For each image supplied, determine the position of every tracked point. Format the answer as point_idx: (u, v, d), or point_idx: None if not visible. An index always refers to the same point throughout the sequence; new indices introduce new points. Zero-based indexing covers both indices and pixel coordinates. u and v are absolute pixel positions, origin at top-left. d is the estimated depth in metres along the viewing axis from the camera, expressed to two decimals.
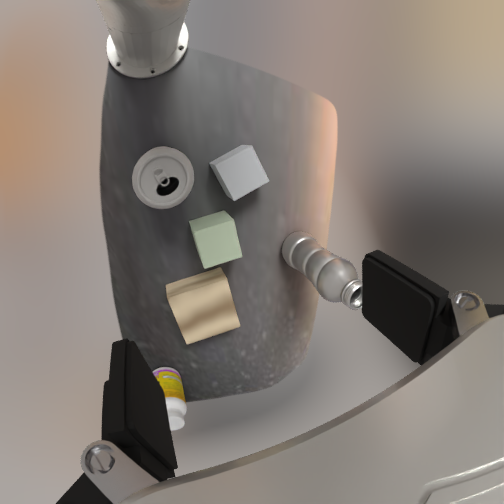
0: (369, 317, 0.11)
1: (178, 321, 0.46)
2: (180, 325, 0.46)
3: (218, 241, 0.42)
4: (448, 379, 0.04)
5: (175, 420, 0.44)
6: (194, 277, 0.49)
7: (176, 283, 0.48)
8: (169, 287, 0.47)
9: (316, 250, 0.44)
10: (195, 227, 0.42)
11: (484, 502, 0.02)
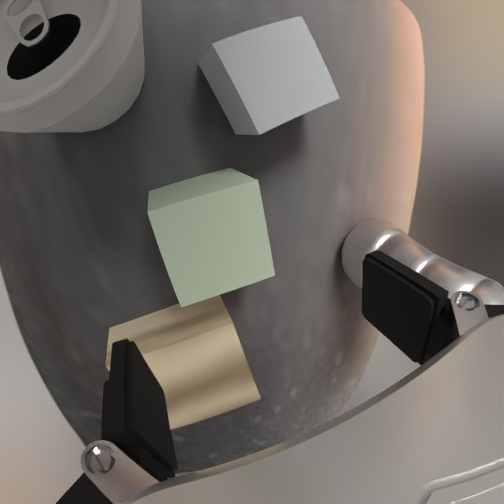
0: (369, 317, 0.11)
1: None
2: None
3: (216, 238, 0.16)
4: (448, 379, 0.04)
5: None
6: (163, 313, 0.22)
7: (128, 327, 0.22)
8: (114, 335, 0.21)
9: (429, 259, 0.18)
10: (157, 200, 0.16)
11: (484, 502, 0.02)
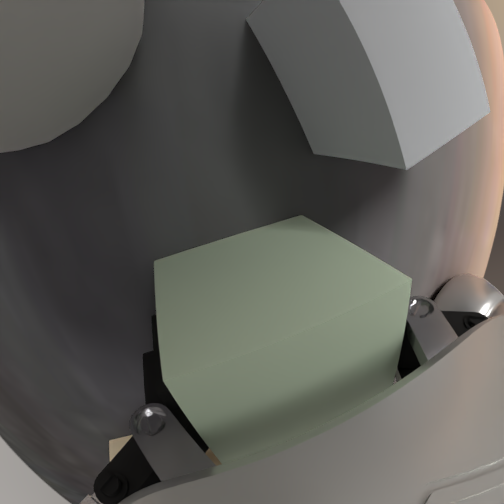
0: None
1: None
2: None
3: (315, 397, 0.07)
4: (448, 379, 0.04)
5: None
6: None
7: None
8: None
9: None
10: (180, 318, 0.07)
11: (484, 502, 0.02)
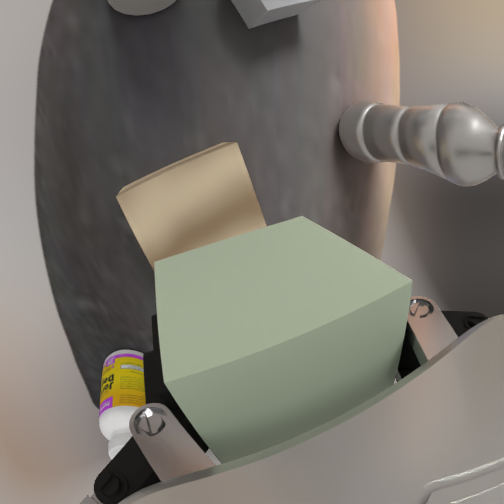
0: None
1: (146, 249, 0.22)
2: (151, 258, 0.22)
3: (316, 398, 0.07)
4: (449, 379, 0.04)
5: None
6: (174, 163, 0.24)
7: (141, 179, 0.23)
8: (126, 186, 0.23)
9: (410, 106, 0.20)
10: (180, 320, 0.07)
11: (484, 502, 0.02)
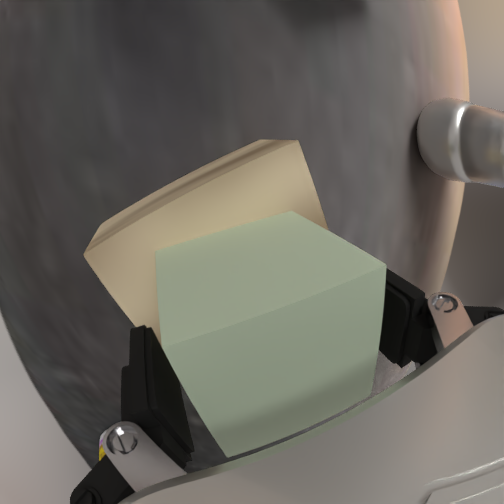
0: None
1: None
2: None
3: (299, 372, 0.08)
4: (448, 379, 0.04)
5: None
6: (183, 178, 0.14)
7: (128, 209, 0.14)
8: (106, 224, 0.13)
9: None
10: (178, 297, 0.08)
11: (484, 502, 0.02)
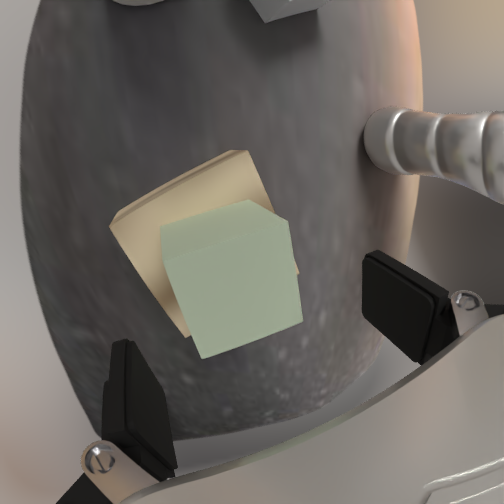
0: (369, 317, 0.11)
1: (150, 284, 0.19)
2: (158, 293, 0.19)
3: (241, 287, 0.14)
4: (448, 379, 0.04)
5: None
6: (175, 178, 0.21)
7: (138, 200, 0.20)
8: (122, 210, 0.20)
9: (446, 114, 0.16)
10: (172, 243, 0.14)
11: (484, 502, 0.02)
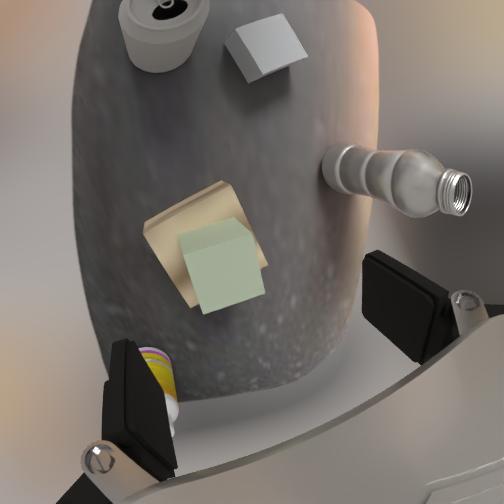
0: (369, 317, 0.11)
1: (168, 270, 0.29)
2: (173, 277, 0.30)
3: (226, 270, 0.25)
4: (448, 379, 0.04)
5: None
6: (184, 201, 0.31)
7: (159, 215, 0.31)
8: (148, 222, 0.30)
9: (377, 151, 0.27)
10: (187, 245, 0.25)
11: (484, 502, 0.02)
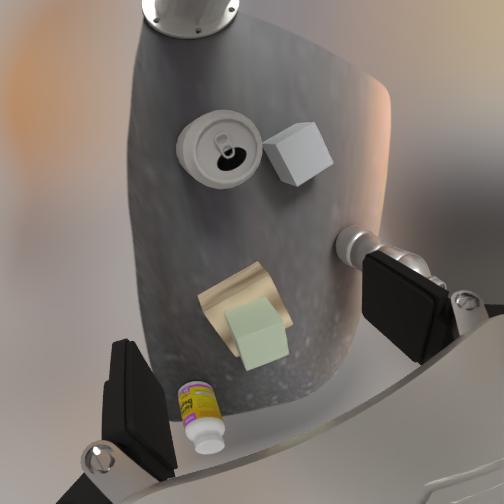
0: (369, 317, 0.11)
1: (221, 335, 0.39)
2: (224, 338, 0.40)
3: (264, 344, 0.34)
4: (448, 379, 0.04)
5: (214, 443, 0.37)
6: (229, 279, 0.41)
7: (210, 291, 0.41)
8: (202, 297, 0.40)
9: (381, 245, 0.37)
10: (236, 327, 0.35)
11: (484, 502, 0.02)
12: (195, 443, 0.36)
